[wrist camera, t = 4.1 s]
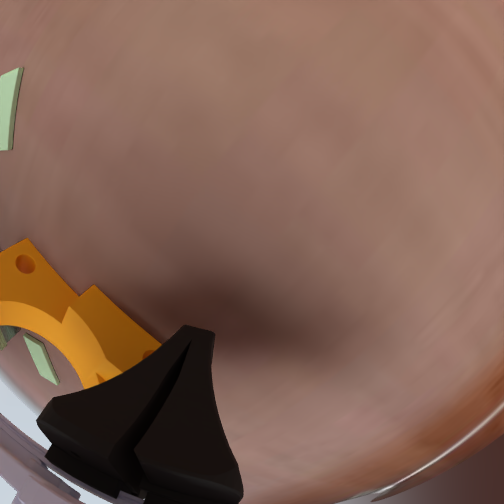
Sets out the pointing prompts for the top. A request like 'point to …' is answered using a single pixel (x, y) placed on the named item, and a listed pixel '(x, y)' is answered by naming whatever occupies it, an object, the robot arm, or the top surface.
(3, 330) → the curved gray arc panel
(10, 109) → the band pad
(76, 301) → the pipe clamp
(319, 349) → the top surface
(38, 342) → the plate
